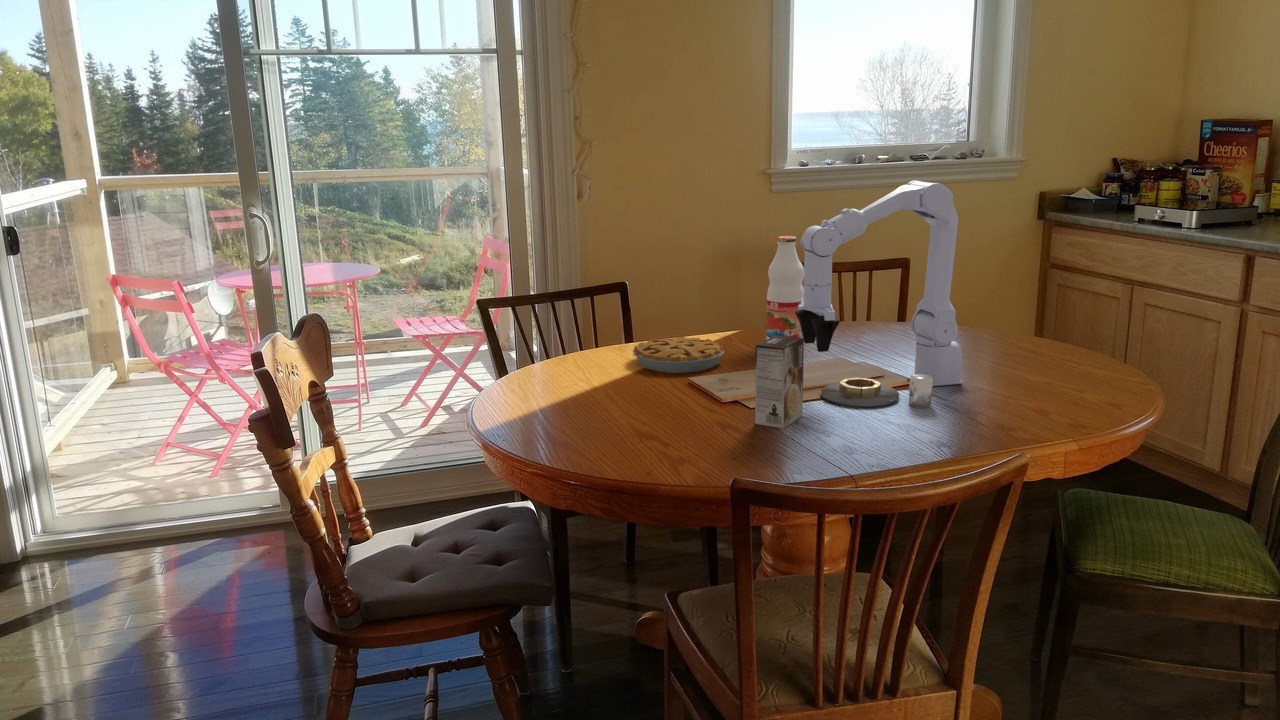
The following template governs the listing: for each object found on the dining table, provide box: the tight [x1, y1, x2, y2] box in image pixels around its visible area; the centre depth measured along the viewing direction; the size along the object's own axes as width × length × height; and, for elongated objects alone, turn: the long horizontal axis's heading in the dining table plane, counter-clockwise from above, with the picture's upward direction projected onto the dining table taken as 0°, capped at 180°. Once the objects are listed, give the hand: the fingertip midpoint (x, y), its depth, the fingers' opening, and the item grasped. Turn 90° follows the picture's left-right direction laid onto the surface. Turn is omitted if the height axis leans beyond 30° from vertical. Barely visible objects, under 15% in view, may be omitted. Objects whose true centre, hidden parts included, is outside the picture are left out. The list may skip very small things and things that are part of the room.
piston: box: [908, 374, 933, 410], centre depth 195 cm, size 4×4×6 cm
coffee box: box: [754, 336, 805, 429], centre depth 186 cm, size 9×6×16 cm
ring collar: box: [820, 377, 900, 409], centre depth 202 cm, size 16×16×3 cm
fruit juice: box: [766, 235, 804, 340], centre depth 245 cm, size 9×9×28 cm
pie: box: [633, 336, 725, 374], centre depth 233 cm, size 22×22×5 cm
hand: (816, 347), depth 204 cm, fingers open, 7 cm apart
